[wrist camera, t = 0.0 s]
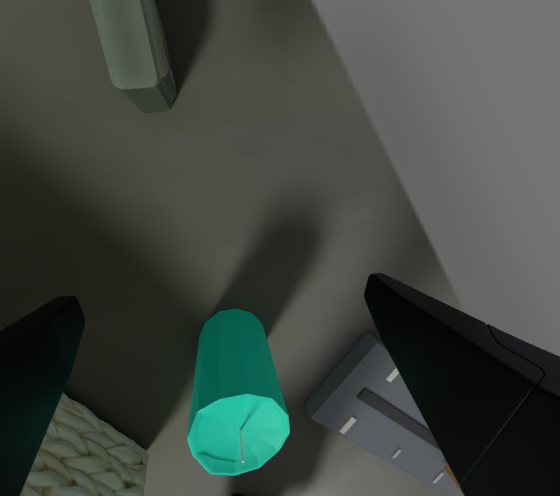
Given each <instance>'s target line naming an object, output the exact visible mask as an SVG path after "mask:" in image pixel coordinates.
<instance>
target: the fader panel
mask: <svg viewBox="0 0 560 496" xmlns="http://www.w3.org/2000/svg"><path fill="white" fill-rule="evenodd" d="M305 405H306V408H307V411H308V413H309V416H310V419H312V420H314V421H315V422H317V423H319V424H321V425H323V426H324V427H326V428H328V429H330V430H332V431H333V432H335V433H337V434H339V435H341V436H342V437H344V438H346V439H348V440H350V441H351V442H353V443H355V444H357V445H359V446H360V447H362V448H364V449H366V450H368V451H369V452H371V453H373V454H375V455H377V456H378V457H380V458H382V459H384V460H386V461H387V462H389V463H391V464H393V465H395V466H396V467H398V468H400V469H402V470H404V471H405V472H407V473H409V474H411V475H413V476H414V477H416V478H418V479H420V480H422V481H423V482H425V483H427V484H429V485H431V486H432V487H434V488H436V489H438V490H440V491H441V492H443V493H445V494H447V495H449V494H450V493H451V492H452V491H453V489H454V488H455V487H456V486H457V485H456V483H455V482H454V481H453V479H452V478H451V477H450V476H449V474H448V473H447V472H446V470H445V469H444V467H445V465H446V464H447V461H446V460H445V458H444V456H443V454H442V452H441V450H440V448H439V446H438V445H437V443H436V441H435V439H434V437H433V435H432V433H431V432H430V430H429V428H428V426H427V424H426V422H425V420H424V418H423V417H422V415H421V413H420V411H419V409H418V407H417V405H416V403H415V402H414V400H413V398H412V396H411V394H410V392H409V390H408V388H407V387H406V385H405V383H404V381H403V379H402V377H401V375H400V373H399V372H398V370H397V368H396V366H395V364H394V362H393V360H392V359H391V357H390V355H389V353H388V351H387V349H386V347H385V345H384V344H383V343H381V342H380V341H379V340H377V339H376V338H375V337H374V336H372V335H371V334H370V333H368V332H367V333H366V334H365V335H364V336H363V337H362V338H361V339H360V341H359V342H358V343H357V344H356V345H355V346H354V347H353V349H352V350H351V351H350V352H349V353H348V354H347V355H346V357H345V358H344V359H343V360H342V361H341V362H340V363H339V365H338V366H337V367H336V368H335V369H334V370H333V371H332V373H331V374H330V375H329V376H328V377H327V378H326V379H325V381H324V382H323V383H322V384H321V385H320V386H319V387H318V389H317V390H316V391H315V392H314V393H313V394H312V395H311V397H310V398H309V399H308V400H307V401H306V402H305Z"/></svg>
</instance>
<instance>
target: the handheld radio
mask: <svg viewBox="0 0 560 496" xmlns="http://www.w3.org/2000/svg"><path fill="white" fill-rule="evenodd" d="M90 4H91V8H92V11H93V15H94V19H95V22H96V26H97V30H98V33H99V37H100V41H101V44H102V48H103V52H104V56H105V59H106V63H107V67H108V70H109V74H110V78H111V81H112V83H113V85H114V86H115V87H116V88H117V89H118V90H119V91H121V92H122V93H123V94H124V95H125V96H126V97H127V98H128V99H129V100H130V101H131V102H132V103H133V104H134V105H136V106H137V107H138V108H139V109H140V110H141V111H143V112H145V113H152V112H160V111H168V110H170V109H171V108H172V106H173V102H172V101H173V100H174V99H175V98H176V93H177V92H176V87H175V82H174V77H173V73H172V68H171V63H170V58H169V54H168V49H167V44H166V39H165V35H164V30H163V26H162V22H161V19H160V16H159V12H158V9H157V6H156V2H155V0H90Z"/></svg>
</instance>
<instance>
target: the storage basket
mask: <svg viewBox="0 0 560 496" xmlns="http://www.w3.org/2000/svg"><path fill="white" fill-rule="evenodd" d="M148 457H149V456H148V453H147V452H146V451H145V450H144V449H143V448H142V447H140V446H139V445H137V444H136V443H135V441H133V440H132V439H129V438H128V437H127V436H125V435H124V434H122V433H120V432H118V431H117V430H116V429H114V428H113V427H112V426H111V425H110V424H108V423H105V422H104V421H102V420H100V419H99V418H97V417H96V416H95V415H94V414H93V413H92V412H91V411H90V410H89V409H88V408H87V407H85V406H84V405H82V404H80V403H78V402H76V401H74V400H72V399H69V398H68V397H67V396H66V395H65V394H64V393H63V394H62V396H61V399H60V401H59V403H58V406H57V408H56V411H55V413H54V415H53V418H52V420H51V422H50V425H49V427H48V430H47V432H46V434H45V437H44V439H43V442H42V444H41V446H40V449H39V451H38V454H37V456H36V458H35V461H34V463H33V465H32V468H31V470H30V473H29V475H28V477H27V480H26V482H25V485H24V487H23V489H22V492H21V494H20V496H144V485H145V481H146V478H145V474H146V469H147V463H148Z"/></svg>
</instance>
